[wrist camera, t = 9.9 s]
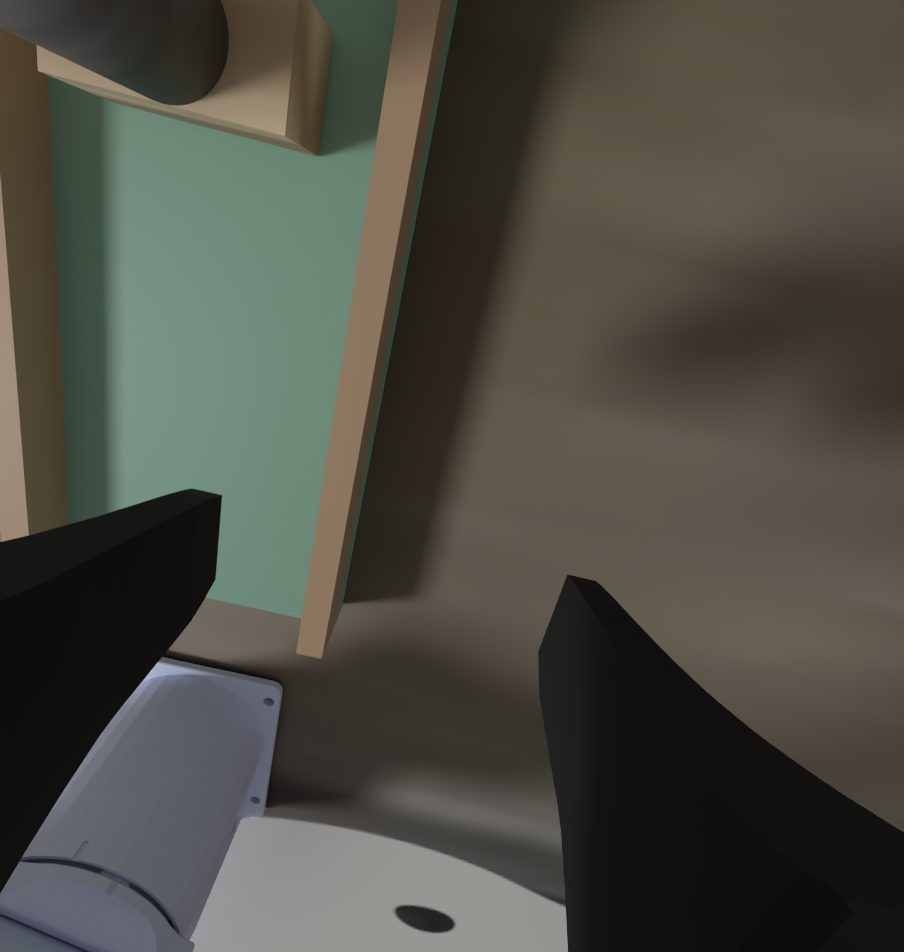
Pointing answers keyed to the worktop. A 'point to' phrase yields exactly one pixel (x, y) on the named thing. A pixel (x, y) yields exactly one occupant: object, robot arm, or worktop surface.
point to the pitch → (213, 306)
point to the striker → (191, 60)
